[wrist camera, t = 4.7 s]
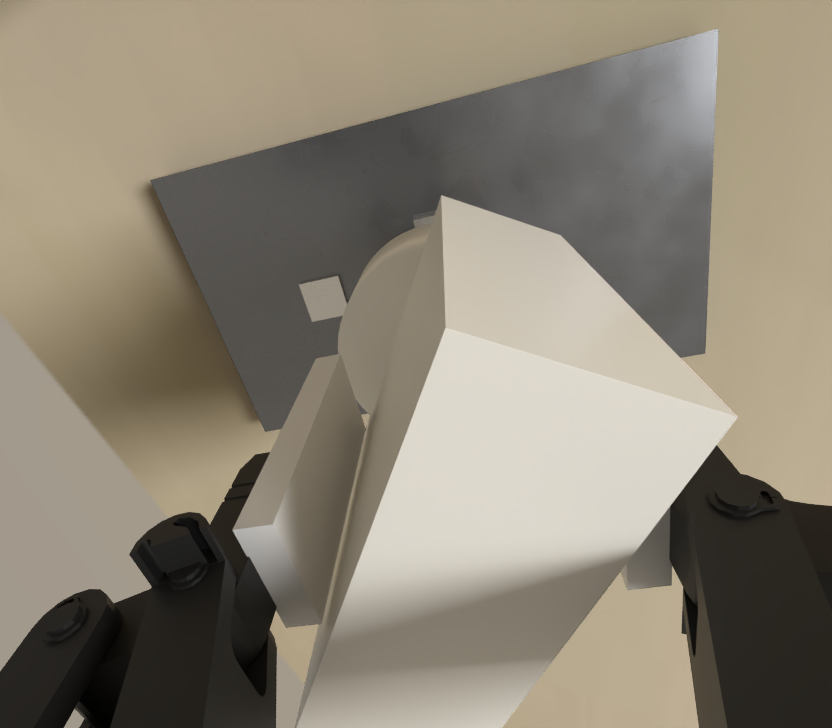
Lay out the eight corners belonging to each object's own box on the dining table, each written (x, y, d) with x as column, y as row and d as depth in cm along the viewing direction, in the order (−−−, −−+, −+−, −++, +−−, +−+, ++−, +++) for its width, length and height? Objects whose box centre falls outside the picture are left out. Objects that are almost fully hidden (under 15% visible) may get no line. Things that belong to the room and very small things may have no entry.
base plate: (166, 176, 23) (66, 200, 17) (699, 34, 20) (820, -1, 13) (272, 416, 29) (228, 499, 23) (691, 340, 26) (771, 413, 20)
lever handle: (388, 163, 16) (283, 277, 5) (588, 230, 16) (869, 456, 6) (323, 410, 20) (195, 747, 9) (481, 455, 21) (526, 813, 10)
